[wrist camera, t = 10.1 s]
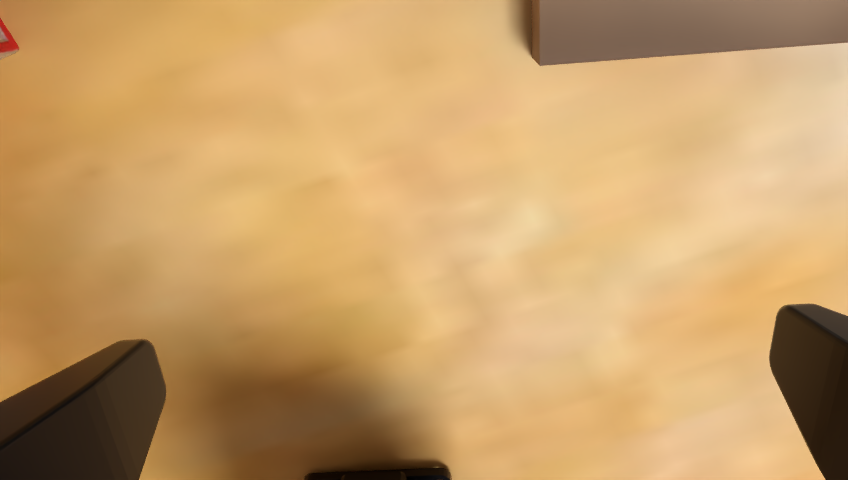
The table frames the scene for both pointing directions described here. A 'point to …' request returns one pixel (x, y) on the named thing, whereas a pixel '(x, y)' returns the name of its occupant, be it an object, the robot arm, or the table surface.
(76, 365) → the robot arm
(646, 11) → the tower base slab
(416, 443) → the table surface
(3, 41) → the stack of blocks
